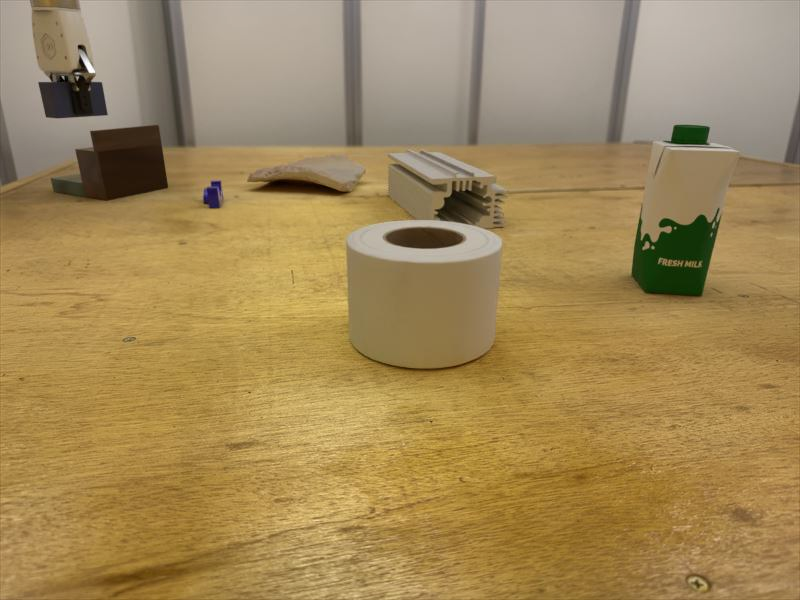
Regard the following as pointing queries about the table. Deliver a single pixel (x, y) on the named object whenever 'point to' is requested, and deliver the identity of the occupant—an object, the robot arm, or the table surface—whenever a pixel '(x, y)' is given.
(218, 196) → the cable holder
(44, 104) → the rectangular block
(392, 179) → the aluminum extrusion profile
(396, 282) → the tape roll
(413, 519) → the table surface
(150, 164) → the rack
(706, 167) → the milk carton
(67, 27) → the robot arm
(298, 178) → the pottery shard
